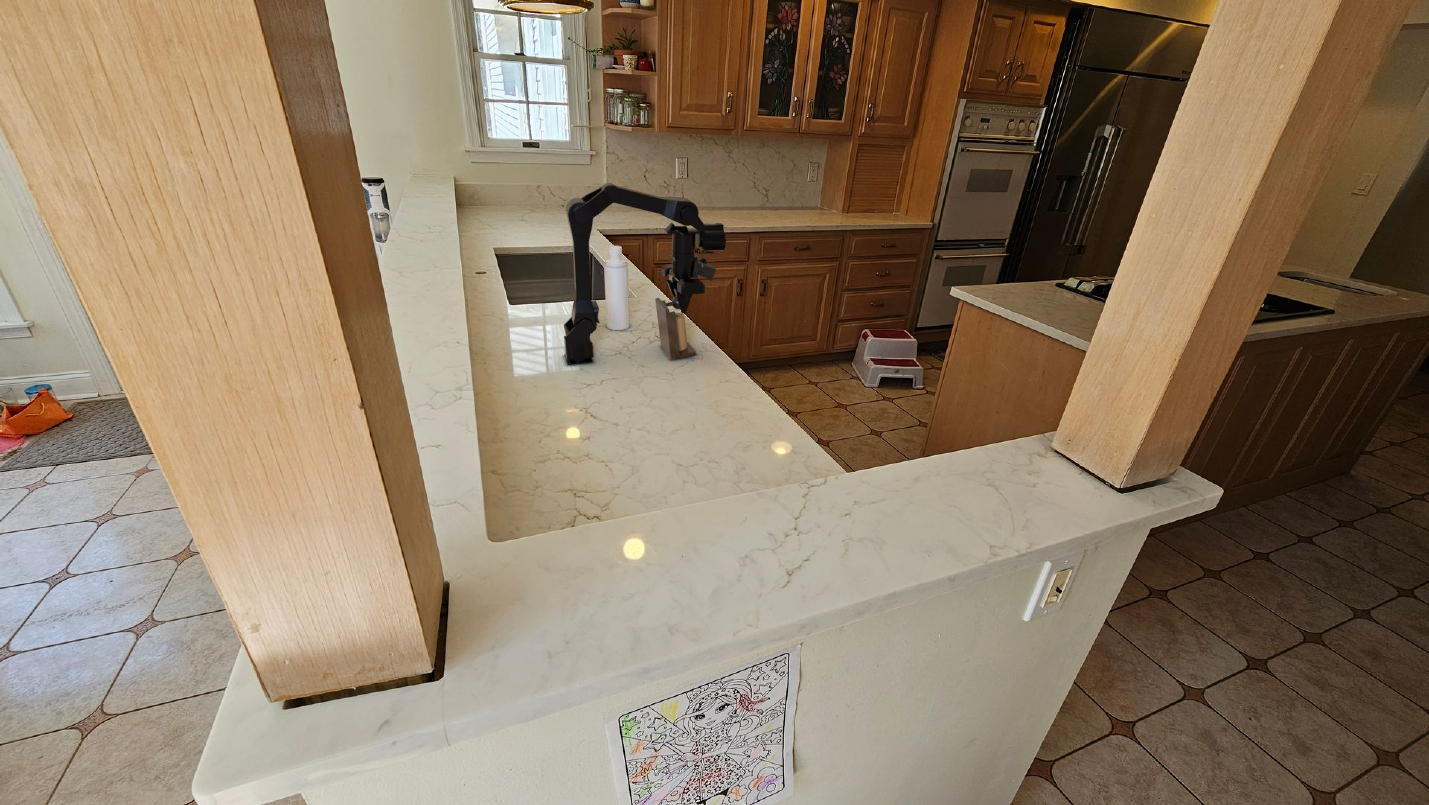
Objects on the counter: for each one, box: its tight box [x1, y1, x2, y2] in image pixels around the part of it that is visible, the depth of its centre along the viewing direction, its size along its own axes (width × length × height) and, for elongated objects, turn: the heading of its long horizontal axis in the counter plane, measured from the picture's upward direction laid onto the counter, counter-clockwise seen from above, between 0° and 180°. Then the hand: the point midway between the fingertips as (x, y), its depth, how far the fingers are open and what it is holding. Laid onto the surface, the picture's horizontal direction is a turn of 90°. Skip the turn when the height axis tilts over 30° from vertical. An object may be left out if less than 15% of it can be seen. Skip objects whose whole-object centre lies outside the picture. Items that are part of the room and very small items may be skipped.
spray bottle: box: [603, 245, 630, 331], centre depth 175 cm, size 7×7×25 cm
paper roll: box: [675, 312, 688, 351], centre depth 162 cm, size 9×5×5 cm
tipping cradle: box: [654, 296, 697, 361], centre depth 161 cm, size 15×10×7 cm
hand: (681, 310), depth 160 cm, fingers closed on tipping cradle, 3 cm apart
